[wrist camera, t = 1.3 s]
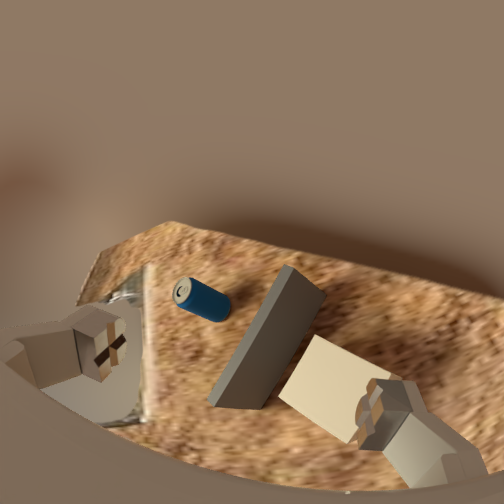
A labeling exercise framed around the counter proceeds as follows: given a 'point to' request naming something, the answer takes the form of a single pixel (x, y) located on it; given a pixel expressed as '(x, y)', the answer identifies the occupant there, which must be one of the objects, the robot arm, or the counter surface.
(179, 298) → the beverage can
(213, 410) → the counter surface
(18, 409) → the robot arm
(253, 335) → the grey stand
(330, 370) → the block
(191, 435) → the counter surface
